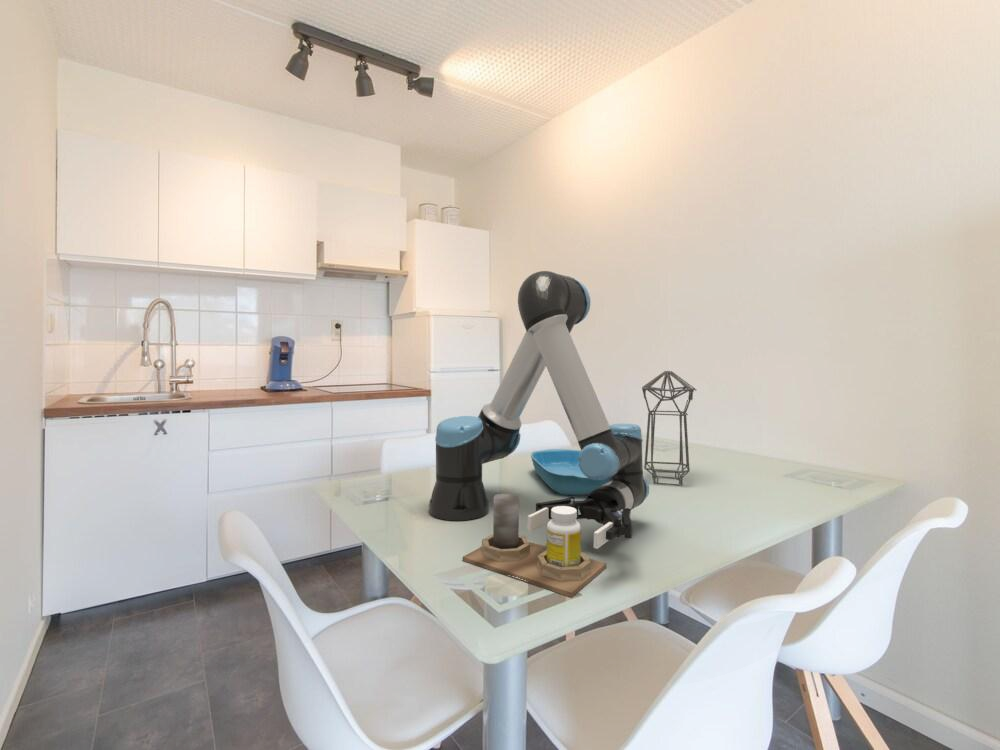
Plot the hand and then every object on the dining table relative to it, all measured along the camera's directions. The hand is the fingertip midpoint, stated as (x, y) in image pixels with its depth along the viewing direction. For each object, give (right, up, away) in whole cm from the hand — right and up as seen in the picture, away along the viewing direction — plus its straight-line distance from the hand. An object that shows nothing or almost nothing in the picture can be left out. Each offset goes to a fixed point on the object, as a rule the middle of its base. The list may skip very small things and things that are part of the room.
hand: (560, 531), depth 88 cm
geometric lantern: (+42, -5, +67) cm, 79 cm away
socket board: (-5, -8, +5) cm, 11 cm away
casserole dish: (+12, -6, +65) cm, 66 cm away
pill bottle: (+1, -8, +2) cm, 8 cm away
